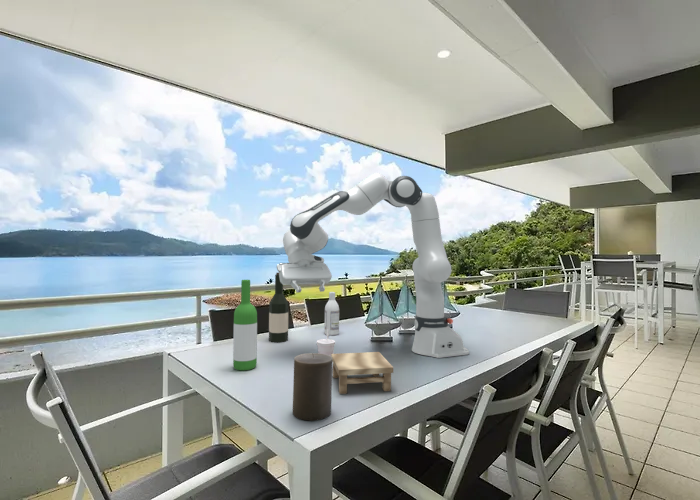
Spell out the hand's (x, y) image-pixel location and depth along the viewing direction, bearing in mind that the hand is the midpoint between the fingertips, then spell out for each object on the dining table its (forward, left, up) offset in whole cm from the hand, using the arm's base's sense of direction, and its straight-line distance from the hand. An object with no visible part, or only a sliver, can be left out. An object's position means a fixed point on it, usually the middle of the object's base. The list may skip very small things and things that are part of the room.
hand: (311, 291), depth 137 cm
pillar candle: (+3, +43, -26) cm, 50 cm away
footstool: (-13, +26, -25) cm, 38 cm away
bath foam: (-13, -39, -26) cm, 49 cm away
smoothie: (-4, +12, -26) cm, 28 cm away
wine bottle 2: (+12, -30, -26) cm, 41 cm away
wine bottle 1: (+23, +6, -26) cm, 35 cm away
